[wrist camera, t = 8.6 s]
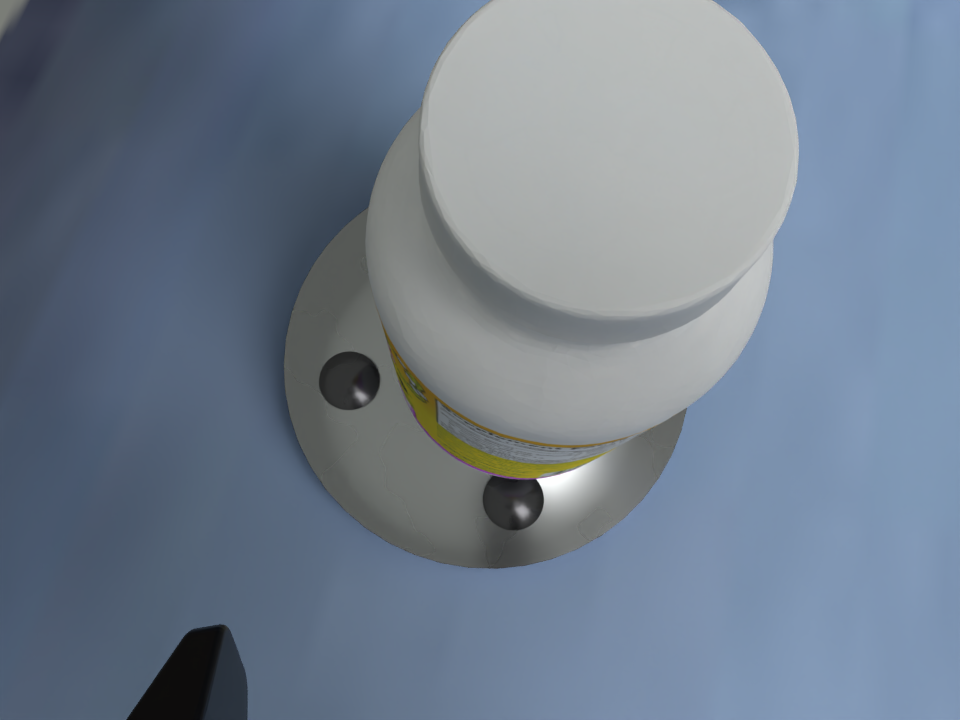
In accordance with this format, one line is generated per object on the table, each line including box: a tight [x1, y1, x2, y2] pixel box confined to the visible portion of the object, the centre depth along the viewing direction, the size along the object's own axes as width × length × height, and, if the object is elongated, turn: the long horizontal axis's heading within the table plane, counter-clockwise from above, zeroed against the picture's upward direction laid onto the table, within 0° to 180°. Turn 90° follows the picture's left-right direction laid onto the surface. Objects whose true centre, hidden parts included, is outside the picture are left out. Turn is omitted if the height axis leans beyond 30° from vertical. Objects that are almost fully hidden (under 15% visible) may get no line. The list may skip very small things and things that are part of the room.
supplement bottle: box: [365, 0, 799, 480], centre depth 16 cm, size 7×7×13 cm
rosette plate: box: [284, 207, 687, 568], centre depth 23 cm, size 11×11×1 cm
